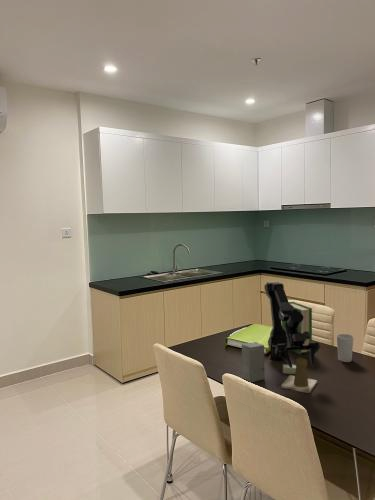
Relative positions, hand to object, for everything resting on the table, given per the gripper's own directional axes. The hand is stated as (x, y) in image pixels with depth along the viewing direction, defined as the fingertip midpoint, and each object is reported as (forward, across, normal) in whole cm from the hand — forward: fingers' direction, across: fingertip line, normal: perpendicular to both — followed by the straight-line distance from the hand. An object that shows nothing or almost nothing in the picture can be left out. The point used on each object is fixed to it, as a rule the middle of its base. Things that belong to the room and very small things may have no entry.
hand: (302, 367), depth 168 cm
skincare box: (-2, -18, +15) cm, 24 cm away
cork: (+5, 0, +7) cm, 8 cm away
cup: (-13, +33, +26) cm, 44 cm away
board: (+4, 0, +8) cm, 9 cm away
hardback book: (-27, +15, +40) cm, 51 cm away
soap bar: (-6, 0, +19) cm, 20 cm away
